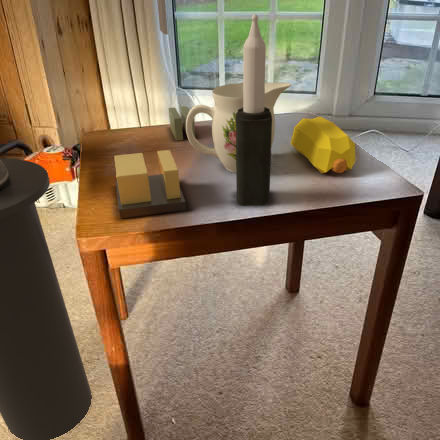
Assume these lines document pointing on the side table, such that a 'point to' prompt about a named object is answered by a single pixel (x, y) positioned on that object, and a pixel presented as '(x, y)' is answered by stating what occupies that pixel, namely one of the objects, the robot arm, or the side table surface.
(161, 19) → the knife
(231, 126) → the pitcher
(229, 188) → the side table surface
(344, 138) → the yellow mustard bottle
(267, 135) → the candle
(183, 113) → the knife stand
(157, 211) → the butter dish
